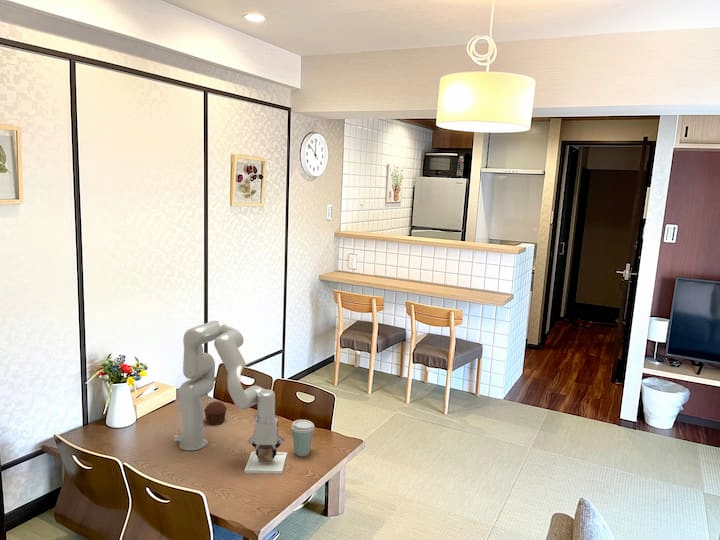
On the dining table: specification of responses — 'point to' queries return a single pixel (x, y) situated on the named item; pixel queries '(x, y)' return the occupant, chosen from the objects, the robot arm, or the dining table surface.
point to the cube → (265, 453)
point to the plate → (266, 464)
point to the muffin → (215, 413)
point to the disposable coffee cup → (302, 436)
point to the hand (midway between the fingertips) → (266, 456)
